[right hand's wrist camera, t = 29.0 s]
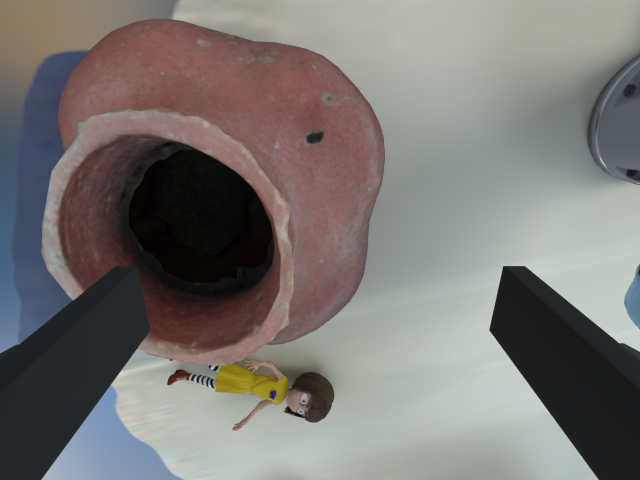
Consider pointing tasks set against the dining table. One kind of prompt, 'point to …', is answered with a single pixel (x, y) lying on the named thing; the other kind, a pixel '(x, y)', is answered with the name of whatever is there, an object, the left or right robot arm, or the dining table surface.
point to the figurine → (269, 389)
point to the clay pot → (214, 186)
